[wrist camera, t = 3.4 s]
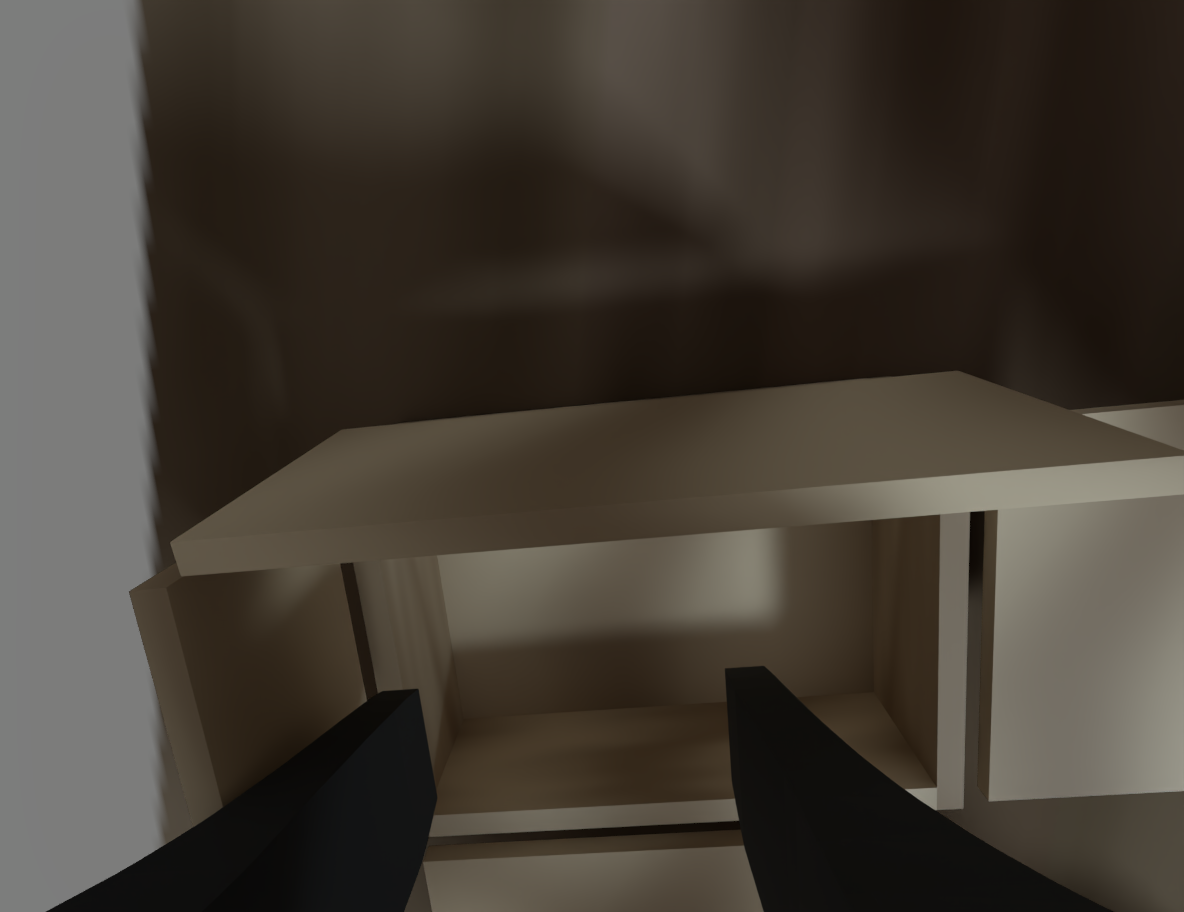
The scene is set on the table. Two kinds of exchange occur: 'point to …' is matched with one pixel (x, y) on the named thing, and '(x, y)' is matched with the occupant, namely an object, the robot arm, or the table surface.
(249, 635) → the flap
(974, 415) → the flap
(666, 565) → the carton
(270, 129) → the table surface
